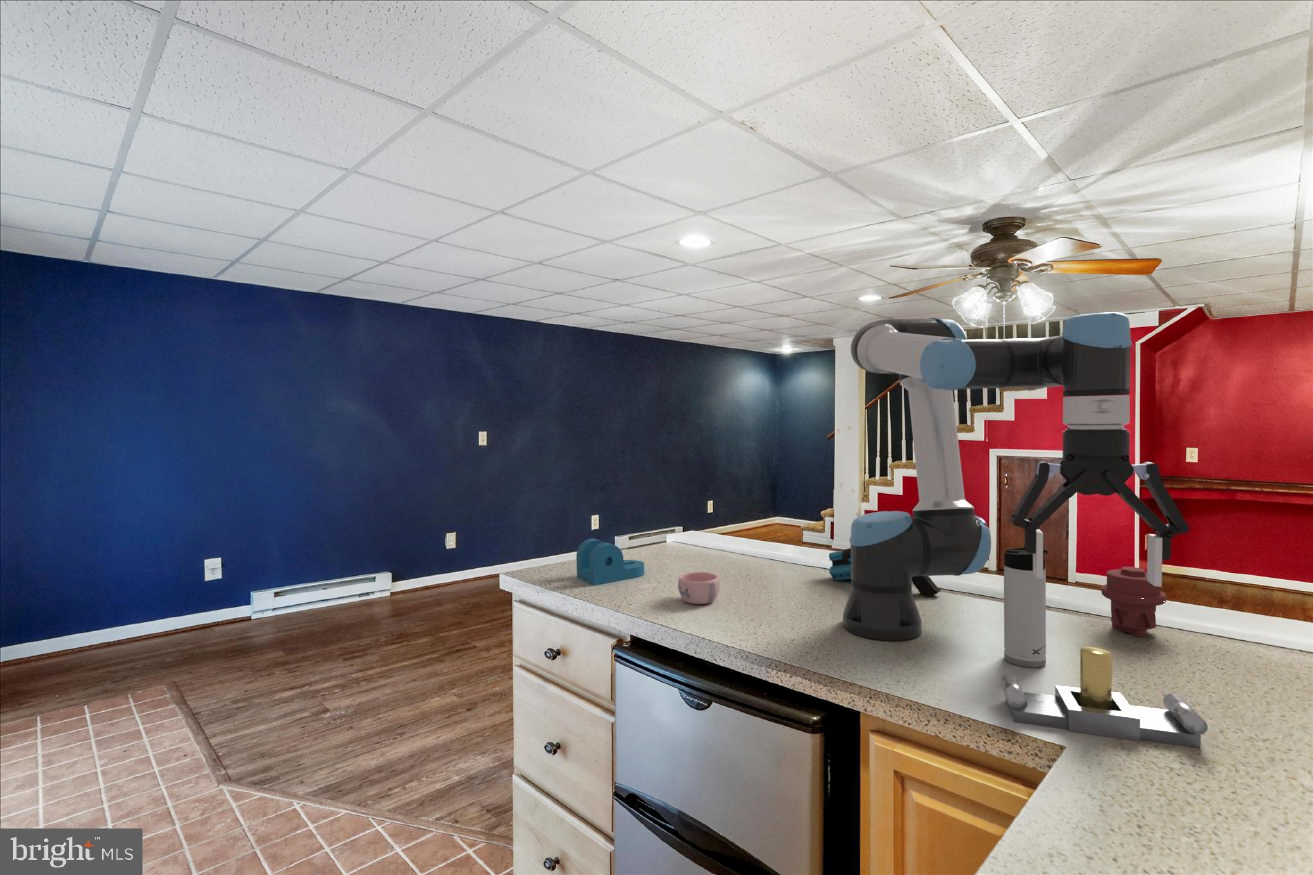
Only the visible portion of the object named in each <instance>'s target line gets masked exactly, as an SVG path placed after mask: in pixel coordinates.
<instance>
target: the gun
mask: <svg viewBox="0 0 1313 875" xmlns="http://www.w3.org/2000/svg"><path fill="white" fill-rule="evenodd" d="M828 554H829V555H828V558H829V561H830V562H831V565H832V566H830V568H829V571H828V572H829V575H830V576H831V578H832V580H833V581H843V580H850V579H851V547H849V548H846V549H843V550H837V551H832V552H829V553H828ZM912 584H913V585H914V587H915V588H916V590H918V593H919V596H923V597H924V596H928V597H929V596H935V595H936V594H938V593H940V592H941V591H942V589H941V588H939V587H938V586H937V585H936V584H935V582H934V581H933V580H932V578H931V576H913V577H912Z"/></svg>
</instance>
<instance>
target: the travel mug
mask: <svg viewBox="0 0 1313 875" xmlns="http://www.w3.org/2000/svg"><path fill="white" fill-rule="evenodd" d="M1003 554H1004V555H1003V558H1004V559H1003V560H1004V561H1003V639H1004V640H1003V645H1004V646H1003V647H1004V649H1003V653H1004V654H1003V655H1004V656H1003V657H1004V659H1005V661H1007V662H1009V663H1010V664H1012V665H1015V666H1018V667H1022V668H1028V669H1029V668H1031V669H1036V668H1042V667H1044V666H1045V665H1046V663H1047V655H1046V654H1047V617H1046V616H1047V615H1046V614H1047V608H1046V607H1047V593H1046V592H1047V589H1046V588H1047V584H1046V583H1047V580H1046V579H1047V577H1046V576H1047V573H1046V571H1047V570H1046V569H1047V568H1046V559H1045V555H1049V550H1048V549H1047V548H1045V547H1043V579H1042V578H1036V577H1035V575H1034V574H1033V553H1028V552H1027V551H1026V549H1025V547H1015V548H1008V549H1007V550H1005V551H1004V552H1003Z"/></svg>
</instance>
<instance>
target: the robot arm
mask: <svg viewBox="0 0 1313 875" xmlns="http://www.w3.org/2000/svg"><path fill="white" fill-rule="evenodd" d="M1131 338H1132V336H1131V323H1130V319H1129V317H1128V316H1127V315H1126V314H1124V313H1121V312H1098V313H1096V312H1095V313H1087V314H1086V313H1085V314H1079V315H1074V316H1070V317H1068V318H1067V319H1066V320H1065V321H1064V322H1063V328H1062V332H1061V335H1057V336H1049V337H1039V338H1035V337H1034V338H1029V337H1028V338H995V339H991V338H990V339H986V338H985V339H984V338H983V339H981V338H978V339H977V338H976V339H975V338H974V339H973V338H971V339H969V338H968V337H967V335H966V333H965V330H964V329H963V327H962V326H961V325H960V324H959V323H957V322H956V321H955V320H953V319H949V318H938V317H930V318H897V319H896V318H895V319H894V318H893V319H892V318H890V319H889V318H887V319H886V318H884V319H880V320H875V321H872V322H869V323H867V324H866V325H863V326H862V327H861V328H860V329H859V330H857V331H856V333H855V334H854V335H853V338H852V340H851V344H850V355H851V358H852V360H853V362H854V363H855V365H857V367H858V368H860V369H862V370H863V371H866V372H868V373H875V374H886V375H887V374H890V375H894V374H895V375H897V374H898V376H899V385H900V386H901V387H903V388H904V389H905V390H907V391H908V400H909V411H910V422H911V431H912V440H913V451H914V459H915V460H914V461H915V470H916V481H917V482H916V483H917V489H918V490H917V491H918V500H919V501H918V503H917V504H916V505H915V506H914V507H913V509H912V516H911V514H910V513H909V512H906V511H900V510H892V511H887V510H884V511H883V510H882V511H877V512H871V513H865V514H862V515H860V516H857V517H856V518H854V520H852V522H851V525H850V537H849V544H850V548H851V580H850V585H851V586H850V588H851V589H850V592H849V595H848V598H847V600H846V603H845V606H844V610H843V612H842V626H843V628H844V629H845V630H846V631H847V632H850V633H851V634H854V635H856V636H859V637H863V638H867V639H872V640H877V641H878V640H880V641H893V642H894V641H905V640H911V639H915V638H918V637H920V635H922V631H923V629H922V628H923V625H922V624H923V622H922V618H921V615H920V612H919V609H918V606H917V602H916V601H915V598H914V595H913V585H912V584H913V582H912V577H913V576H929V577H934V576H935V577H936V576H937V577H938V576H957V577H958V576H959V577H960V576H963V575H971V574H975V573H978V572H979V571H981V570H982V569H983V568H984V567H985V566H986V563H987V562H988V561H989V558H990V555H991V550H992V536H991V530H990V528H989V527H988V526H987V522H986V520H984V519H983V518H982V517H980V516H977V515H976V514H975V507H974V506H973V505H972V504H971V503H970V502H968V501H967V500H966V497H965V489H964V488H965V487H964V483H963V482H964V480H963V472H962V471H963V470H962V463H961V462H962V460H961V454H960V446H959V435H958V427H957V417H956V410H955V402H954V401H955V400H954V392H953V391H957V390H967V389H968V390H970V389H973V390H975V389H977V390H978V389H1026V390H1034V389H1037V390H1039V389H1040V390H1042V389H1045V388H1053V387H1056V388H1057V387H1063V388H1062V389H1063V392H1062V397H1063V398H1062V401H1063V402H1062V424H1063V425H1065V426H1067V429H1066V428H1065V429H1064V431H1062V459H1061V462H1060V463H1050V462H1046V461H1043V460H1040V461H1037V463H1036V466H1035V472H1034V473H1035V474H1034V477H1033V478H1032V480H1031V482H1030V484H1028V487H1027V488H1026V490H1025V493H1024V494H1023V496H1022V497H1021V499H1020V501H1019V502H1018V504H1017V505H1016V508H1015V509H1014V511H1013V512H1012V515H1011V516H1010V518H1009V520H1010V523H1011V524H1012V525H1013V526H1015V527H1019V528H1020V529H1023V530H1024V548H1025V549H1026V551H1027V552H1028V553H1033V574H1034V575H1035V577H1036V578H1042V579H1043V548H1044V532H1042V530H1041V529H1039V528H1040V527H1041V526H1042V525H1043V524H1044V523H1045V522H1046V521H1047V520H1048V519H1049V518H1050V517H1051V516H1052V515H1053V514H1054V513H1055V512H1056V511H1058V509H1059V508H1061V507H1062V506H1063V505H1064V504H1065V503H1066V502H1067V501H1068V500H1069V499H1071V498H1072V497H1074V496H1075V494H1077V493H1078V494H1081V495H1083V496H1093V495H1100V496H1106V497H1107V496H1111V495H1114V494H1116V495H1117V496H1118V497H1120V498H1121V500H1123V501H1124V502H1125V504H1127V505H1128V506H1129V507H1130V508H1131V509H1132V510H1133V511H1134V513H1136V514H1137V516H1139V517H1140V518H1141V520H1142V521H1144V522H1145V523H1146V524H1147V526H1149V527H1150V528H1151V529H1152V530H1153V532H1155V533H1154V534H1153V533H1147V564H1146V565H1147V571H1146V572H1147V581H1148V582H1150V583H1151V584H1152V585H1154V586H1159V587H1161V588H1162V584H1163V561H1164V562H1165V561H1166V562H1169V561H1170V559H1171V558H1172V557H1171V556H1172V539H1173V538H1175V536H1176V535H1179V534H1187V533H1189V532H1190V526H1189V525H1188V522H1187V521H1186V519H1185V517H1184V516H1183V515H1182V513H1181V512H1180V509H1179V508H1178V506H1177V505H1176V503H1175V502H1174V500H1173V498H1172V496H1171V495H1170V493H1169V491H1168V490H1167V488H1166V486H1165V485H1164V483H1163V481H1162V478H1161V473H1160V472H1161V471H1160V466H1159V465H1158V464H1157V463H1155V462H1150V461H1144V462H1143V463H1139V464H1132V462H1131V460H1130V448H1131V447H1130V444H1131V442H1130V440H1131V439H1130V437H1131V436H1130V435H1131V434H1130V433H1131V431H1128V430H1129V429H1126V428H1125V426H1126V425H1127V426H1128V425H1129V424H1130V422H1131V421H1130V419H1131V418H1130V417H1131V416H1130V413H1131V412H1130V410H1131V409H1130V408H1131V407H1130V400H1131V398H1130V395H1131V394H1130V393H1131V392H1130V391H1131V390H1130V389H1131V353H1132V352H1131V348H1132V347H1131V346H1133V342H1132V340H1131ZM1056 473H1059V474H1060V475H1061V476H1062V477H1063V479H1064V480H1065V481H1064V482H1063V483H1062V484H1061V485H1060V486H1059V487H1058V488H1057V490H1056V491H1055V492H1054V493H1053V494H1051V495H1050V497H1048V498H1047V500H1046V501H1045V502H1044V503H1043V504H1041V506H1039V508H1037V509H1036V510H1035V512H1033V514H1031V515H1030V516H1029V517H1028V515H1029V513H1030V512H1031V510H1032V509H1033V507H1034V505H1035V503H1036V502H1037V500H1038V498H1039V497H1040V494H1041V493H1042V491H1043V490H1044V488H1045V486H1046V485H1047V483H1048V479H1052V478H1054V476H1055V474H1056ZM1133 474H1136V475H1137V477H1138V478H1139V479H1140V480H1143V482H1144V484H1145V485H1146V487H1147V489H1148V490H1149V492H1150V494H1151V495H1152V497H1153V499H1154V501H1155V502H1156V503H1157V506H1158V507H1159V509H1160V510H1161V513H1162V514H1163V516H1164V517H1165V519H1166V521H1167V522H1168V523H1167V524H1166V523H1165V522H1163V520H1162V519H1161V518H1159V517H1158V516H1157V514H1156V513H1155V512H1153V511H1152V509H1150V507H1149V506H1148V505H1146V503H1145V502H1143V501H1142V499H1140V497H1139V496H1138V495H1136V493H1135V492H1134V490H1133V489H1131V488H1130V486H1128V485H1127V484H1126V483H1127V481H1128V480H1129V479H1130V478H1131V477H1132V476H1133ZM912 517H913V518H912ZM1027 517H1028V518H1027ZM1026 518H1027V519H1026Z"/></svg>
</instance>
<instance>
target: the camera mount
mask: <svg viewBox="0 0 1313 875" xmlns="http://www.w3.org/2000/svg"><path fill="white" fill-rule="evenodd" d="M575 556H576V557H575V558H576V578H577V579H578V580H580V581H583V582H585V583H587V584H589V585H592V586H599V585H606V584H612V583H616V582H622V581H628V580H634V579H637V578H640V577H643V576H644V575H645V562H643V561H641V560H637V559H636V560H635V559H624V554H623V551H622V550H621V548H620V547H618V546H617V545H615V544H612V543H609V542H604V541H603V540H599V539H597V538H588V539H585V540H583V542H582V543H580V545H579V546H578V548H577V551H576V555H575Z"/></svg>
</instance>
